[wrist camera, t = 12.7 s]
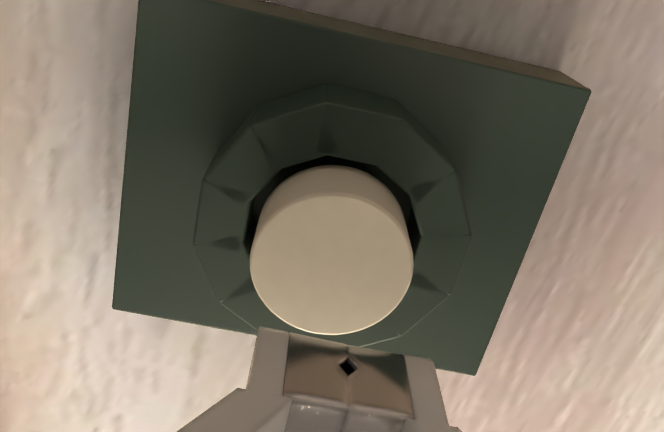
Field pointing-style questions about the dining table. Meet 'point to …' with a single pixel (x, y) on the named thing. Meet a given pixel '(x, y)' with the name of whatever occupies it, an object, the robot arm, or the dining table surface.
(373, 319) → the button
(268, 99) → the control block
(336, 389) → the robot arm
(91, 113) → the dining table surface
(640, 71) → the dining table surface
